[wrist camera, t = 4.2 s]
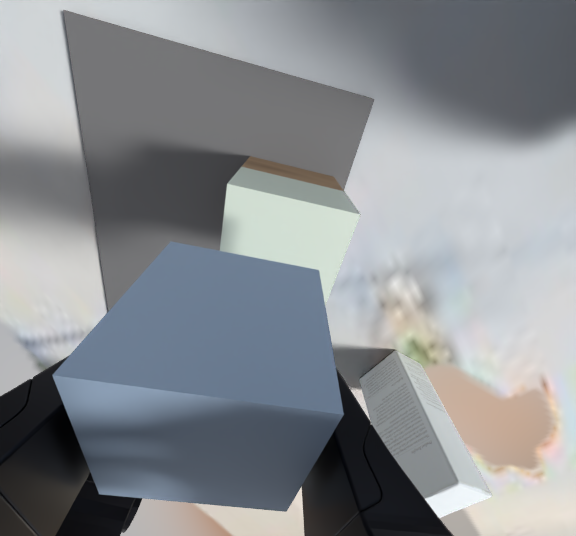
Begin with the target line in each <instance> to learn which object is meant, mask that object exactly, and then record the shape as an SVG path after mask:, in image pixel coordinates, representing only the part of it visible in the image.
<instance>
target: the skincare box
mask: <svg viewBox="0 0 576 536" xmlns="http://www.w3.org/2000/svg"><path fill="white" fill-rule="evenodd" d="M359 381H360V384H361V388H362V392H363V395H364V399H365V402H366V406H367V409H368V413H369V417H370V420H371V424H372V425H373V426H374V428H375V430H376V431H377V433H378V434H379V436H380V437H381V439H382V440H383V442H384V443H385V445H386V446H387V448H388V449H389V451H390V452H391V454H392V455H393V457H394V458H395V459H396V461H397V462H398V464H399V465H400V466H401V468H402V469H403V471H404V472H405V473H406V475H407V476H408V477H409V479H410V480H411V481H412V483H413V484H414V485H415V487H416V488H417V489H418V491H419V492H420V493H421V495H422V496H423V497H424V499H425V500H426V501H427V503H428V504H429V505H430V507H431V508H432V509H433V511H434V512H435V513H436V515H437V516H438V517H439V518H441V517H443V516H445V515H448V514H450V513H452V512H455V511H458V510H460V509H463V508H465V507H468V506H470V505H473V504H475V503H478V502H480V501H483V500H485V499H488V498H490V497H492V494H491V492H490V490H489V488H488V486H487V484H486V482H485V481H484V479H483V477H482V475H481V473H480V471H479V470H478V468H477V466H476V464H475V462H474V461H473V459H472V457H471V455H470V453H469V451H468V449H467V448H466V446H465V444H464V442H463V440H462V439H461V437H460V435H459V433H458V431H457V430H456V428H455V426H454V424H453V422H452V420H451V419H450V417H449V415H448V413H447V411H446V409H445V408H444V406H443V404H442V402H441V400H440V399H439V396H438V395H437V393H436V391H435V389H434V387H433V385H432V384H431V382H430V380H429V378H428V376H427V374H426V373H425V371H424V369H423V367H422V365H421V364H420V363H419V362H417V361H415V360H413V359H411V358H409V357H407V356H405V355H404V354H402V353H400V352H398V351H396V350H395V351H393V352H392V353H391V354H390V355H389V356H387V357H386V358H385V359H384V360H383V361H381V362H380V363H379V364H378V365H376V366H375V367H374V368H373V369H371V370H370V371H369V372H368V373H367V374H365V375H364V376H363V377H362V378H360V379H359Z"/></svg>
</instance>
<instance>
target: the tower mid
mask: <svg viewBox="0 0 576 536" xmlns="http://www.w3.org/2000/svg"><path fill="white" fill-rule="evenodd" d="M360 215H361V214H360V213H359V212H358V210H357V209H356V207H355V206H354V205H353V203H352V202H351V200H350V199H349V197H348V196H347V195H346V193H345V192H344V191H341V190H337V189H332V188H328V187H324V186H320V185H316V184H312V183H307V182H303V181H299V180H295V179H291V178H287V177H282V176H278V175H274V174H270V173H266V172H262V171H257V170H253V169H249V168H245V167H241V168H240V169H239V170H238V171H237V173H236V174H235V175H234V176H233V177H232V179H231V180H230V181H229V182H228V183H227V190H226V199H225V208H224V217H223V226H222V235H221V243H220V251H223V252H228V253H234V254H239V255H244V256H249V257H254V258H259V259H265V260H270V261H275V262H280V263H285V264H290V265H296V266H301V267H306V268H311V269H316V270H319V273H320V279H321V284H322V290H323V296H324V302H325V305H326V303H327V300H328V297H329V295H330V292H331V290H332V287H333V284H334V282H335V279H336V277H337V274H338V272H339V269H340V266H341V264H342V261H343V259H344V256H345V253H346V251H347V248H348V246H349V243H350V241H351V238H352V235H353V233H354V230H355V228H356V225H357V222H358V220H359V217H360Z"/></svg>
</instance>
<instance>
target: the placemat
mask: <svg viewBox="0 0 576 536" xmlns="http://www.w3.org/2000/svg"><path fill="white" fill-rule="evenodd" d="M63 11H64V18H65V25H66V31H67V38H68V45H69V52H70V58H71V65H72V72H73V78H74V85H75V92H76V98H77V105H78V112H79V119H80V125H81V132H82V139H83V145H84V152H85V159H86V165H87V172H88V179H89V186H90V192H91V199H92V206H93V212H94V219H95V226H96V232H97V239H98V246H99V253H100V259H101V266H102V273H103V279H104V286H105V293H106V299H107V306H108V312H109V311H110V309H111V308H112V307H113V306H114V305H115V304H116V303H117V302H118V300H119V299H120V298H121V297H122V296H123V295H124V294H125V292H126V291H127V290H128V289H129V288H130V287H131V286H132V285H133V283H134V282H135V281H136V280H137V279H138V278H139V277H140V276H141V274H142V273H143V272H144V271H145V270H146V269H147V268H148V266H149V265H150V264H151V263H152V262H153V261H154V260H155V259H156V257H157V256H158V255H159V254H160V253H161V252H162V251H163V250H164V248H165V247H166V246H167V245H168V244H169V243H170V242H177V243H182V244H187V245H192V246H197V247H202V248H208V249H213V250H218V251H220V243H221V235H222V226H223V217H224V208H225V199H226V190H227V183H228V182H229V181H230V180H231V179H232V177H233V176H234V175H235V174H236V173H237V171H238V170H239V169H240V168H241V167H242V165H243V164H244V163H245V162H246V161H247V159H248V158H249V157H250V156H252V157H256V158H260V159H264V160H268V161H272V162H276V163H280V164H284V165H288V166H292V167H297V168H301V169H305V170H309V171H313V172H317V173H321V174H325V175H329V176H333V177H334V178H335V179H336V180H337V182H338V183H339V185H340V186H341V188H342V189H343V190H344V188H345V185H346V182H347V179H348V176H349V173H350V170H351V167H352V164H353V161H354V158H355V155H356V152H357V149H358V146H359V143H360V140H361V137H362V134H363V131H364V128H365V125H366V122H367V120H368V117H369V114H370V111H371V108H372V105H373V102H374V99H372V98H369V97H365V96H362V95H358V94H355V93H351V92H348V91H344V90H341V89H337V88H334V87H330V86H327V85H323V84H320V83H316V82H313V81H309V80H306V79H302V78H299V77H295V76H292V75H288V74H285V73H282V72H278V71H275V70H271V69H268V68H264V67H261V66H257V65H254V64H250V63H247V62H243V61H240V60H236V59H233V58H229V57H226V56H222V55H219V54H215V53H212V52H208V51H205V50H201V49H198V48H194V47H191V46H187V45H184V44H181V43H177V42H174V41H170V40H167V39H163V38H160V37H156V36H153V35H149V34H146V33H142V32H139V31H135V30H132V29H128V28H125V27H121V26H118V25H114V24H111V23H107V22H104V21H100V20H97V19H93V18H90V17H86V16H83V15H80V14H76V13H73V12H69V11H66V10H63Z"/></svg>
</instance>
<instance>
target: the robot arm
mask: <svg viewBox="0 0 576 536" xmlns="http://www.w3.org/2000/svg"><path fill="white" fill-rule="evenodd" d="M69 356H70V355H69ZM69 356H68V357H69ZM68 357H66V358H64V359H63V360H61V361H59V362H58V363H56V364H54V365H53V366H51V367H49V368H48V369H46V370H44V371H43V372H41V373H39V374H38V375H36V376H34V377H33V379H29V380H27V381H26V382H24V383H22V384H21V385H19V386H17V387H16V388H14V389H12V390H11V391H9V392H7V393H5V394H4V395H2V396H0V536H120V534H121V532H123V533H124V532H125V531H126V530H127V528H128V527H129V526H130V524H131V522H132V520H133V518H134V516H135V514H136V512H137V510H138V507H139V505H140V503H141V500H142V498H134V497H123V496H113V495H102V494H99V492H98V490H97V487H96V485H95V482H94V480H93V477H92V475H91V472H90V470H89V467H88V465H87V462H86V459H85V457H84V454H83V452H82V449H81V447H80V444H79V442H78V439H77V437H76V434H75V432H74V429H73V427H72V424H71V421H70V419H69V416H68V414H67V411H66V409H65V406H64V404H63V401H62V399H61V396H60V394H59V391H58V389H57V386H56V384H55V381H54V378H53V376H52V375H53V374H54V373H55V372H56V370H57V369H58V368H59V367H60V366H61V365H62V364H63V363H64V361H65V360H66V359H67V358H68ZM336 372H337V378H338V384H339V390H340V395H341V401H342V407H343V413H344V415H343V417H342V418H341V420H340V422H339V424H338V425H337V427H336V429H335V430H334V432H333V434H332V435H331V437H330V439H329V440H328V442H327V444H326V445H325V447H324V449H323V451H322V452H321V454H320V456H319V457H318V459H317V461H316V462H315V464H314V466H313V467H312V469H311V471H310V472H309V474H308V476H307V478H306V479H305V481H304V483H303V484H302V498H303V516H304V533H305V536H453V534H452V533H451V532H450V531H449V530H448V529H447V528H446V526H445V525H444V524H443V523H442V521H441V520H440V519H439V517H438V516H437V515H436V513H435V512H434V511H433V509H432V508H431V507H430V505H429V504H428V503H427V501H426V500H425V499H424V497H423V496H422V495H421V493H420V492H419V491H418V489H417V488H416V487H415V485H414V484H413V483H412V481H411V480H410V479H409V477H408V476H407V475H406V473H405V472H404V471H403V469H402V468H401V466H400V465H399V464H398V462H397V461H396V459H395V458H394V457H393V455H392V454H391V452H390V451H389V449H388V448H387V446H386V445H385V443H384V442H383V440H382V439H381V437H380V436H379V434H378V433H377V431H376V430H375V428H374V426H373V425H372V424H371V422H370V420H369V419H368V417H367V415H366V414H365V412H364V411H363V409H362V408H361V406H360V404H359V403H358V401H357V400H356V398H355V396H354V395H353V393H352V392H351V390H350V389H349V387H348V385H347V384H346V382H345V381H344V379H343V377H342V376H341V374H340V373H339V371H338V370H337V368H336ZM370 424H371V425H370Z"/></svg>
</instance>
